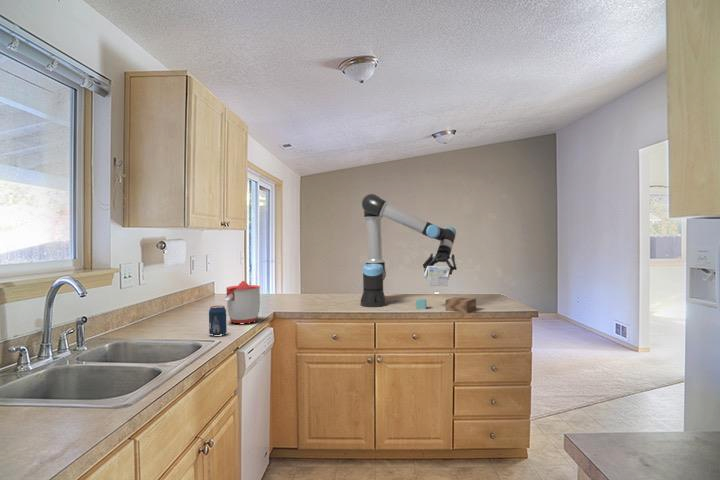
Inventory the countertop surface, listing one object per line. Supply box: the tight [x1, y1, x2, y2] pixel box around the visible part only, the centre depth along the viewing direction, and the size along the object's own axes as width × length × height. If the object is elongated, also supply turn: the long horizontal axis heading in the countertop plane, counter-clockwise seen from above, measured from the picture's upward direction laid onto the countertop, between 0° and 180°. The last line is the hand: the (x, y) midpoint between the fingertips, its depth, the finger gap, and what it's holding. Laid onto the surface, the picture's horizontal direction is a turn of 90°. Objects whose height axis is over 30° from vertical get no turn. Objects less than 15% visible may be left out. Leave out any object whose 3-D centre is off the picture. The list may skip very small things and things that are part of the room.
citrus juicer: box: [223, 280, 261, 324], centre depth 210 cm, size 16×17×20 cm
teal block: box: [415, 298, 427, 310], centre depth 242 cm, size 5×5×5 cm
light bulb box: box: [427, 265, 449, 287], centre depth 244 cm, size 11×7×11 cm, turn 86°
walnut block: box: [445, 296, 477, 314], centre depth 236 cm, size 12×12×6 cm
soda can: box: [208, 305, 228, 335], centre depth 185 cm, size 7×7×12 cm
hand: (436, 277), depth 242 cm, fingers closed on light bulb box, 12 cm apart
